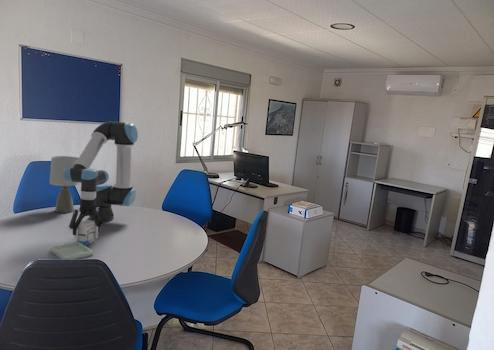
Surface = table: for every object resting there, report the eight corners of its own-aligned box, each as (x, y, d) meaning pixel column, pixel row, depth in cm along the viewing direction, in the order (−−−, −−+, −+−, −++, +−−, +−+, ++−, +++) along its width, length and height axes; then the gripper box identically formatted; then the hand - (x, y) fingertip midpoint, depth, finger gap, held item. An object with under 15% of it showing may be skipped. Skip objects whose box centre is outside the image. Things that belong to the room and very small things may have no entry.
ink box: (84, 246, 175) (85, 225, 174) (76, 245, 176) (76, 223, 175) (95, 241, 184) (95, 220, 182) (87, 239, 185) (87, 219, 183)
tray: (78, 245, 176) (78, 241, 176) (92, 255, 166) (92, 251, 166) (50, 251, 166) (50, 246, 166) (64, 262, 156) (64, 257, 156)
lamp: (58, 216, 219) (59, 160, 213) (43, 210, 228) (43, 156, 223) (85, 211, 235) (86, 159, 229) (69, 206, 244) (71, 155, 239)
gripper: (105, 195, 188) (102, 233, 191) (62, 198, 171) (60, 240, 173) (112, 198, 183) (109, 237, 186) (68, 201, 166) (66, 245, 169)
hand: (85, 239), depth 180 cm, fingers open, 10 cm apart
